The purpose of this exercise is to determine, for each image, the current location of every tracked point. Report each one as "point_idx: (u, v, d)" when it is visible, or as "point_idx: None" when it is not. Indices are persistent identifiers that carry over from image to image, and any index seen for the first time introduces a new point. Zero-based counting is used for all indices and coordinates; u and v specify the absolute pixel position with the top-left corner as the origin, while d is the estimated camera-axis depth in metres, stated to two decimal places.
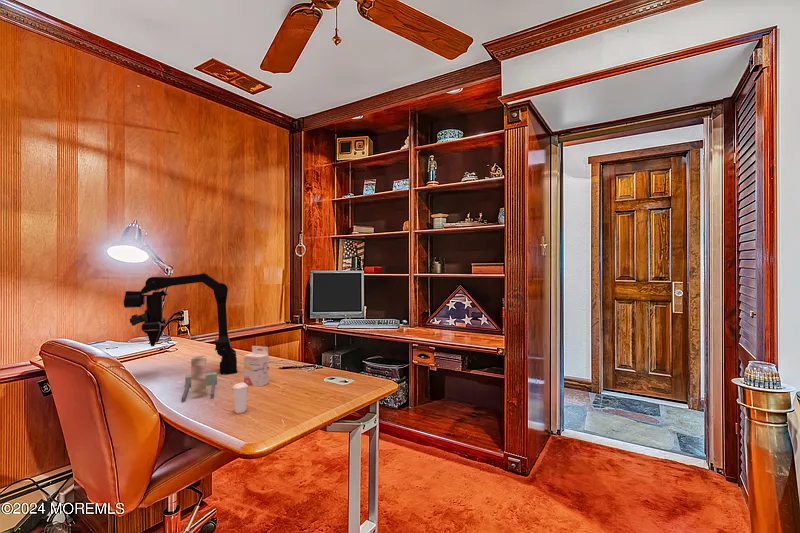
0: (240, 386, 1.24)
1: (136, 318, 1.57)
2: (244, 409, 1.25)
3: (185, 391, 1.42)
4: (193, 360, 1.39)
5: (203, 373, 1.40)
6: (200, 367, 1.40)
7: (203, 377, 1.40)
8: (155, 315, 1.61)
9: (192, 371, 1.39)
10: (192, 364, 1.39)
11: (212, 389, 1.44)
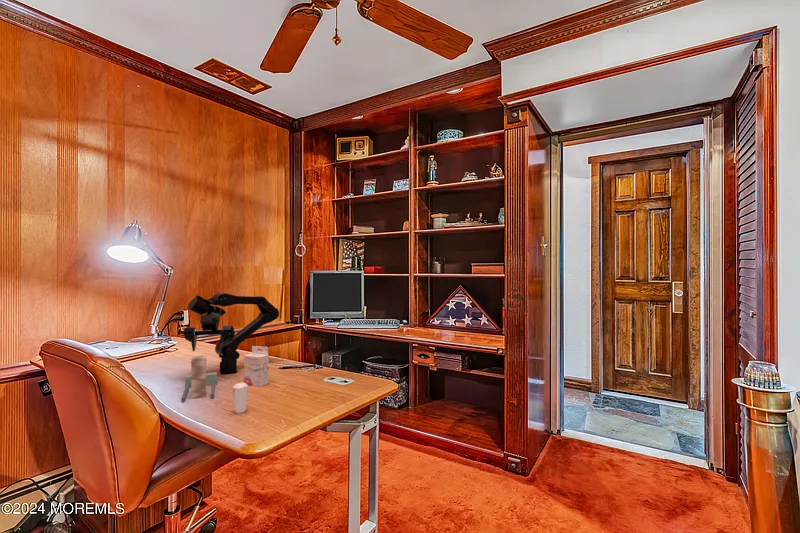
0: (240, 386, 1.24)
1: (219, 318, 1.61)
2: (244, 409, 1.25)
3: (185, 391, 1.42)
4: (193, 360, 1.39)
5: (203, 373, 1.40)
6: (200, 367, 1.40)
7: (203, 377, 1.40)
8: (218, 325, 1.66)
9: (192, 370, 1.39)
10: (192, 364, 1.39)
11: (212, 389, 1.44)
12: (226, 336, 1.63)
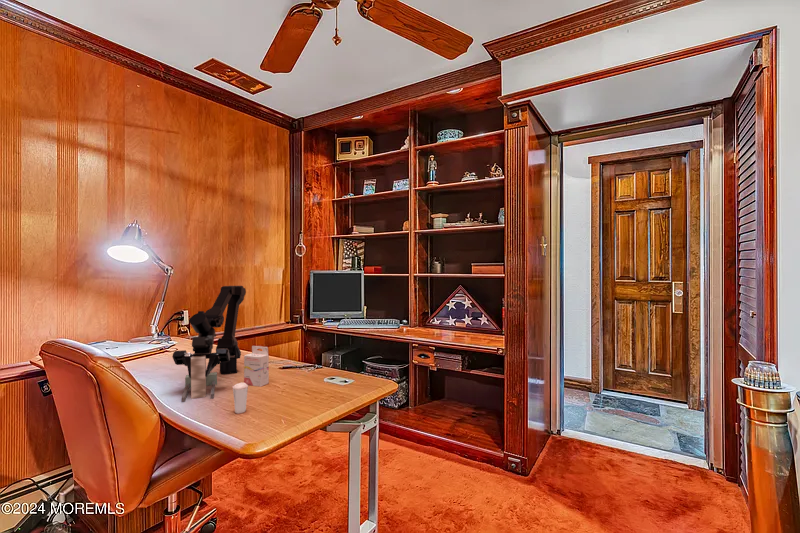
0: (240, 386, 1.24)
1: (213, 340, 1.46)
2: (244, 409, 1.25)
3: (185, 391, 1.42)
4: (193, 360, 1.39)
5: (203, 373, 1.40)
6: (200, 367, 1.40)
7: (203, 377, 1.40)
8: (212, 348, 1.51)
9: (192, 370, 1.39)
10: (192, 364, 1.39)
11: (212, 389, 1.44)
12: (215, 360, 1.47)
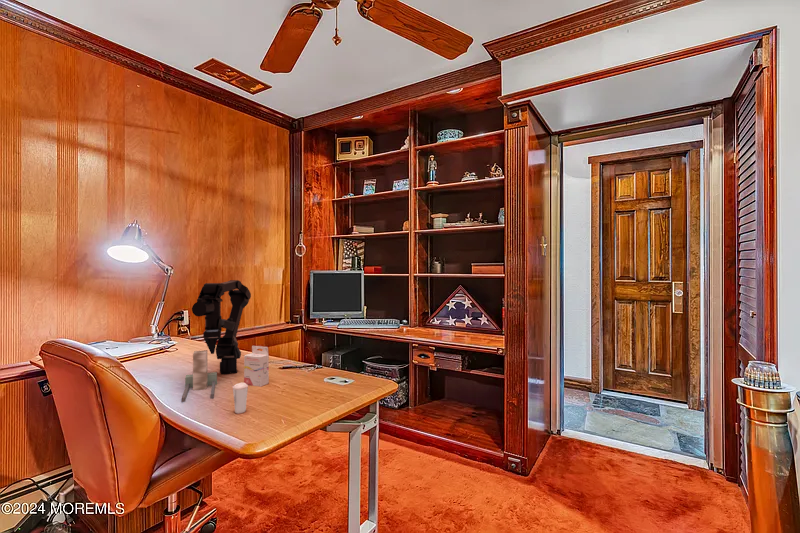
0: (240, 386, 1.24)
1: None
2: (244, 409, 1.25)
3: (185, 391, 1.42)
4: (195, 354, 1.48)
5: (204, 367, 1.50)
6: (201, 361, 1.49)
7: (204, 370, 1.50)
8: None
9: (194, 364, 1.48)
10: (194, 358, 1.48)
11: (212, 389, 1.44)
12: None
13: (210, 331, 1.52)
